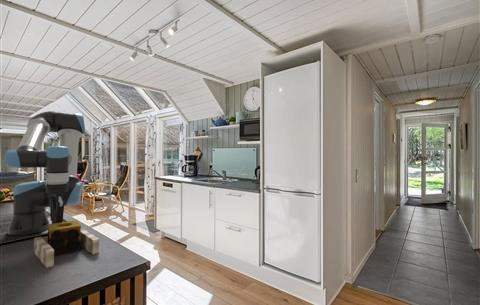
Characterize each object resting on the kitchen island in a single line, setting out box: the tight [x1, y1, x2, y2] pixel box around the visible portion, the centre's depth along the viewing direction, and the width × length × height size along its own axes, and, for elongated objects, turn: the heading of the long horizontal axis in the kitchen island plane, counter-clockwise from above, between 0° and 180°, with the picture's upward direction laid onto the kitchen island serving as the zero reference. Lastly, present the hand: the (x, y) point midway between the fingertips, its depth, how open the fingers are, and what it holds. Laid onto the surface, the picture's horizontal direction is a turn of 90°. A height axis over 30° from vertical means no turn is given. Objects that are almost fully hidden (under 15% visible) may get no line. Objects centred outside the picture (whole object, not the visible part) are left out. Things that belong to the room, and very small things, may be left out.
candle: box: [46, 219, 82, 257], centre depth 94 cm, size 10×10×10 cm
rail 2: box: [80, 228, 100, 256], centre depth 97 cm, size 18×2×6 cm, turn 50°
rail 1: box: [33, 236, 55, 269], centre depth 86 cm, size 18×2×6 cm, turn 51°
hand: (56, 239), depth 101 cm, fingers closed
